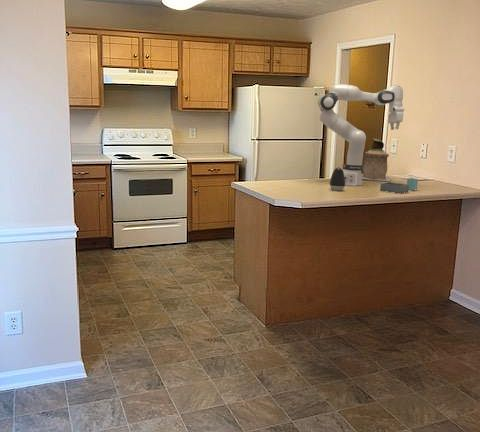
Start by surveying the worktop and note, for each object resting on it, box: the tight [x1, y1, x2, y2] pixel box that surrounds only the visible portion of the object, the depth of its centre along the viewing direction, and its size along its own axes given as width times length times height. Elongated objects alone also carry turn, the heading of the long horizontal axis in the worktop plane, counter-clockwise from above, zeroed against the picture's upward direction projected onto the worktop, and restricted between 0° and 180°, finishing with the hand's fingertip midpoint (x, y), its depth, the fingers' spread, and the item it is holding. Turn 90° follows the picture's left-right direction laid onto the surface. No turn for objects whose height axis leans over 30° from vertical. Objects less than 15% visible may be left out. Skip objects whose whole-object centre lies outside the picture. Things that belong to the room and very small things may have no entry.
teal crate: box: [406, 177, 419, 190], centre depth 358 cm, size 6×5×8 cm
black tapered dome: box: [329, 166, 346, 192], centre depth 344 cm, size 10×10×15 cm
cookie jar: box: [362, 137, 392, 182], centre depth 407 cm, size 25×25×32 cm
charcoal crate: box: [379, 181, 409, 194], centre depth 349 cm, size 12×15×5 cm
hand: (394, 129), depth 366 cm, fingers open, 8 cm apart
